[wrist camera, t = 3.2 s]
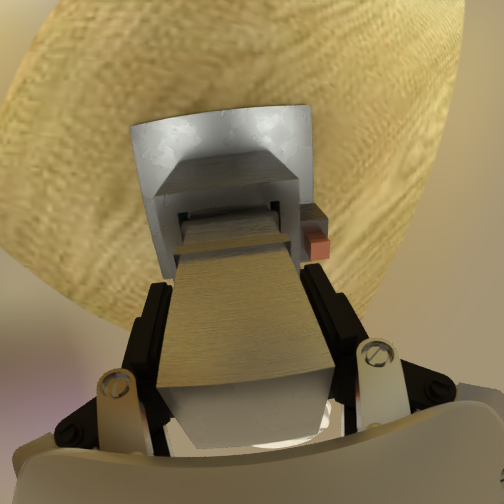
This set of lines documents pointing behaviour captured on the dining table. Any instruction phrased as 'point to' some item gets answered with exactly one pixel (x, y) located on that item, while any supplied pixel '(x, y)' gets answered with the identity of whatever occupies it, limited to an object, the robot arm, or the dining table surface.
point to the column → (241, 334)
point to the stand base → (230, 174)
